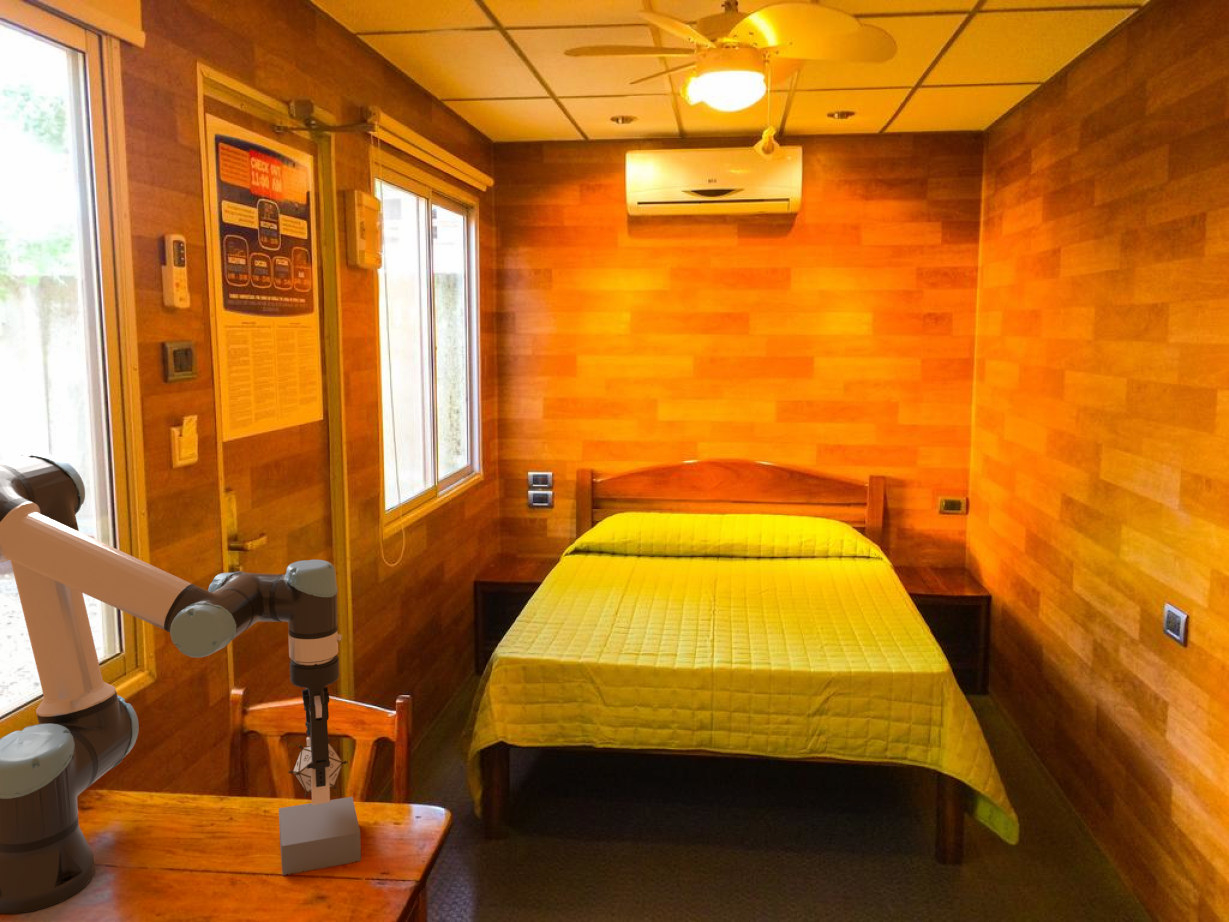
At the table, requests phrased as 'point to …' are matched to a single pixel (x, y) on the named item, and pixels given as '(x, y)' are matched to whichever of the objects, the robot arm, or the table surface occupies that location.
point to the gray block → (319, 835)
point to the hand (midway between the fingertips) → (318, 787)
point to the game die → (304, 773)
